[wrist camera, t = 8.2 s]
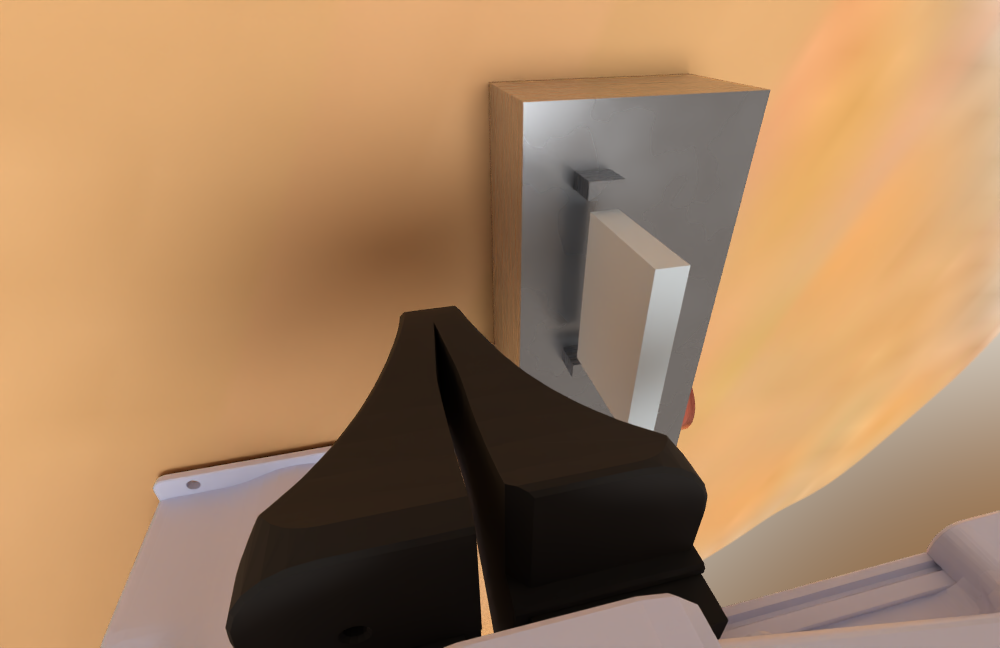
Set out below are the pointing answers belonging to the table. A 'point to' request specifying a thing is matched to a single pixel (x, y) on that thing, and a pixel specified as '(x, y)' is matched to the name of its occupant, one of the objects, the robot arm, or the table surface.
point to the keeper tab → (629, 315)
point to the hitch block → (612, 207)
